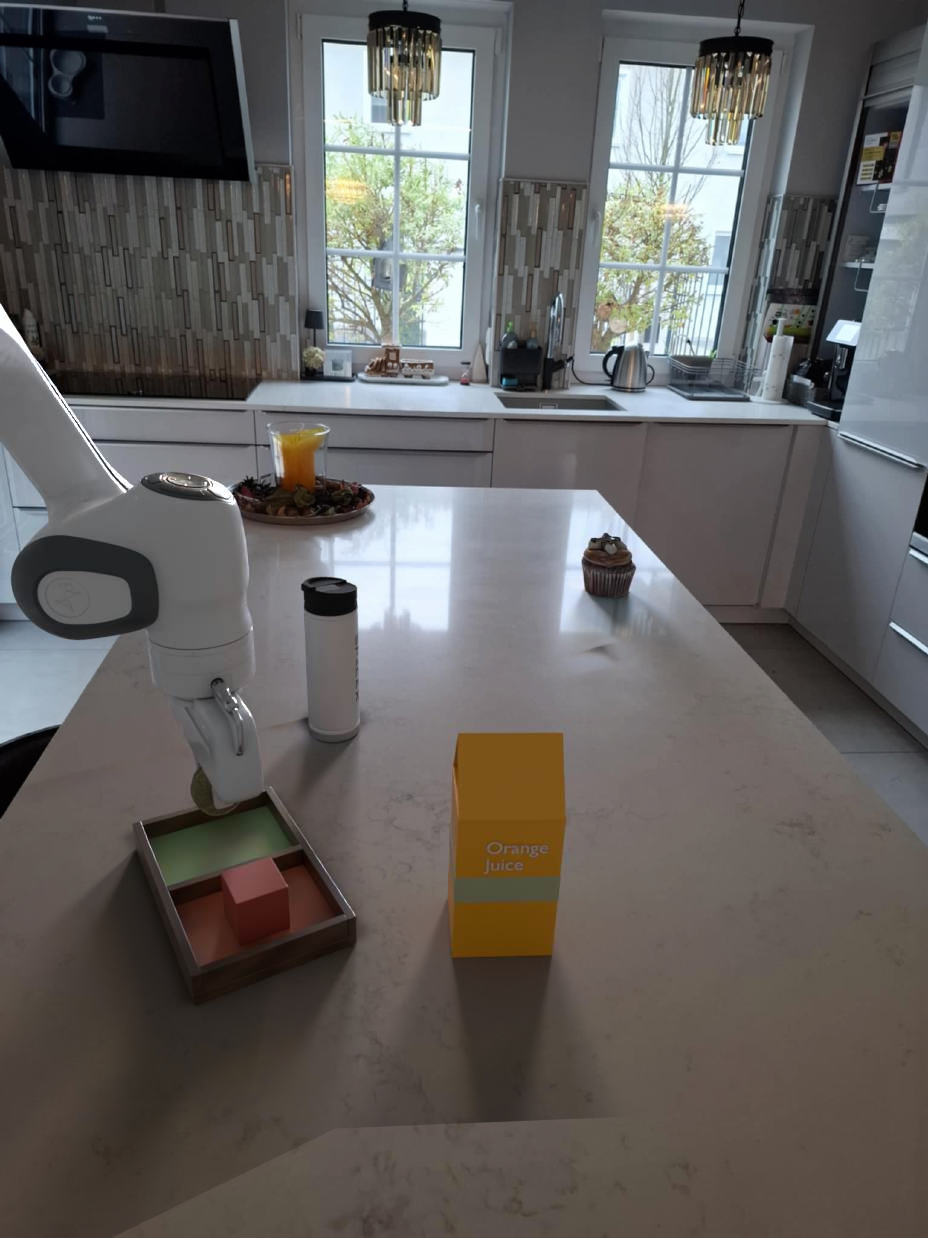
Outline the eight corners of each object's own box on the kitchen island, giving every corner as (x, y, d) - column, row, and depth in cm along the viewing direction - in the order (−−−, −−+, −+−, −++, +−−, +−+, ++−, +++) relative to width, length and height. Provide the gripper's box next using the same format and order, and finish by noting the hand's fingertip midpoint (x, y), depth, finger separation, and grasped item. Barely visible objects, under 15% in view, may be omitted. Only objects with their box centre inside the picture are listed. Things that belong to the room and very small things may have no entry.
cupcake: (621, 604, 150) (627, 548, 146) (570, 591, 154) (575, 537, 150) (641, 587, 157) (648, 534, 153) (592, 576, 162) (597, 524, 158)
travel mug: (297, 728, 108) (289, 577, 100) (342, 712, 112) (338, 566, 104) (323, 749, 104) (318, 594, 96) (369, 732, 108) (368, 582, 100)
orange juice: (446, 896, 81) (453, 709, 73) (539, 894, 82) (556, 709, 74) (451, 959, 74) (459, 760, 66) (553, 957, 75) (573, 759, 67)
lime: (254, 801, 83) (251, 756, 81) (220, 828, 79) (216, 782, 77) (217, 787, 85) (213, 743, 83) (182, 814, 81) (177, 768, 79)
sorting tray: (194, 1005, 69) (191, 977, 68) (135, 848, 86) (132, 823, 85) (356, 943, 76) (356, 916, 74) (272, 808, 93) (270, 785, 92)
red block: (239, 946, 73) (236, 904, 71) (224, 913, 77) (220, 872, 75) (290, 928, 75) (288, 886, 74) (273, 896, 79) (270, 856, 77)
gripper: (277, 701, 70) (285, 842, 75) (207, 611, 86) (218, 733, 91) (198, 720, 67) (212, 865, 72) (141, 623, 83) (156, 747, 88)
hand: (215, 790), depth 82 cm, fingers closed on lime, 3 cm apart
